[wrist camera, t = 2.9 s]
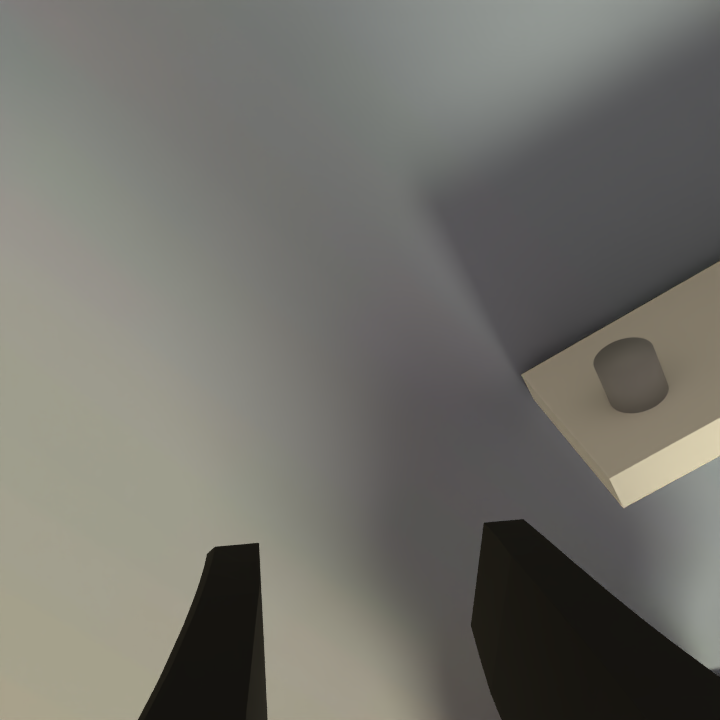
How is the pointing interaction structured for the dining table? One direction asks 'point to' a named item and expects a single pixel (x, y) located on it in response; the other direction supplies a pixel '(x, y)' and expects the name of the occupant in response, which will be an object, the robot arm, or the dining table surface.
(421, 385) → the dining table surface
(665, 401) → the cabinet door
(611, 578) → the dining table surface
